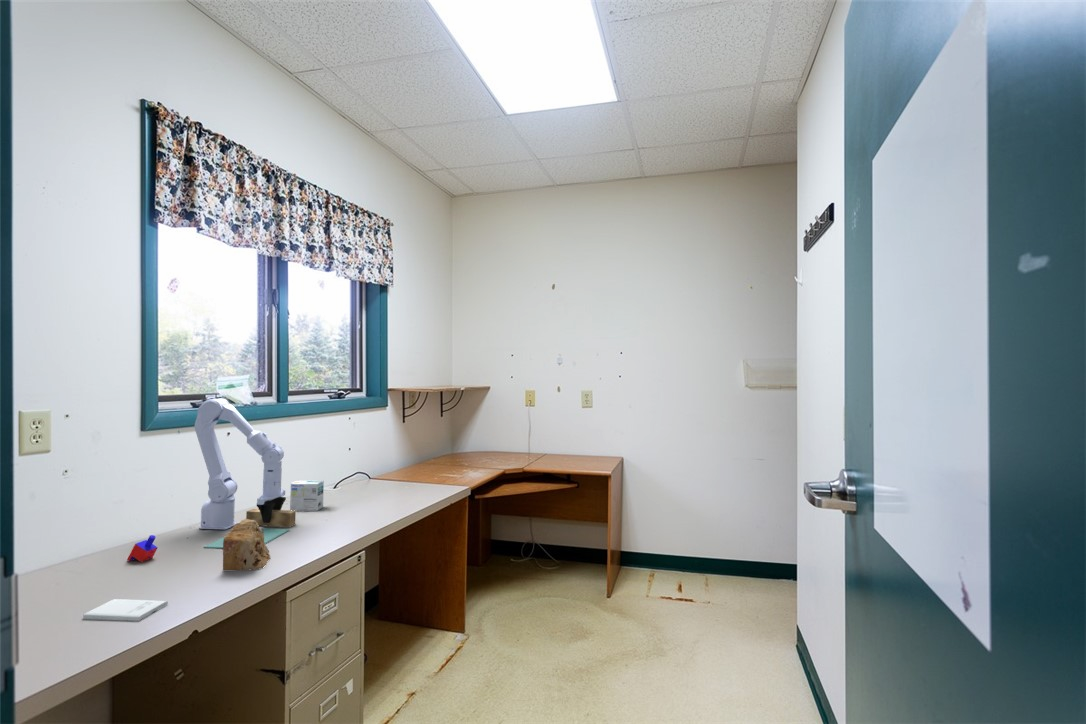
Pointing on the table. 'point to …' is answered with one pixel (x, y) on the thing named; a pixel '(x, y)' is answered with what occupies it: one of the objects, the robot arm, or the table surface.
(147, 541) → the red blue dreidel
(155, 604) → the external hard drive
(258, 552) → the stone fragment
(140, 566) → the table surface
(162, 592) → the table surface
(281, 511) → the bronze bar
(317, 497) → the light bulb box
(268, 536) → the board
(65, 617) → the table surface
